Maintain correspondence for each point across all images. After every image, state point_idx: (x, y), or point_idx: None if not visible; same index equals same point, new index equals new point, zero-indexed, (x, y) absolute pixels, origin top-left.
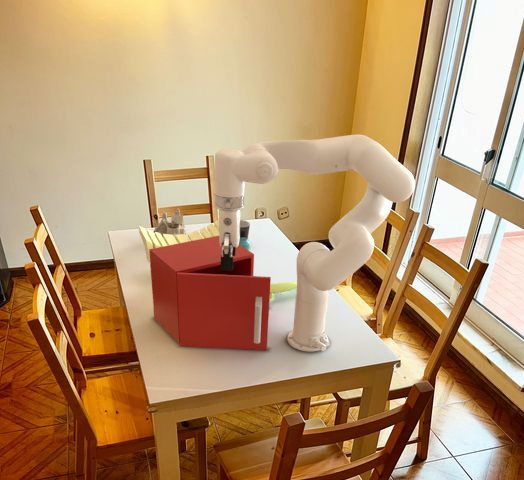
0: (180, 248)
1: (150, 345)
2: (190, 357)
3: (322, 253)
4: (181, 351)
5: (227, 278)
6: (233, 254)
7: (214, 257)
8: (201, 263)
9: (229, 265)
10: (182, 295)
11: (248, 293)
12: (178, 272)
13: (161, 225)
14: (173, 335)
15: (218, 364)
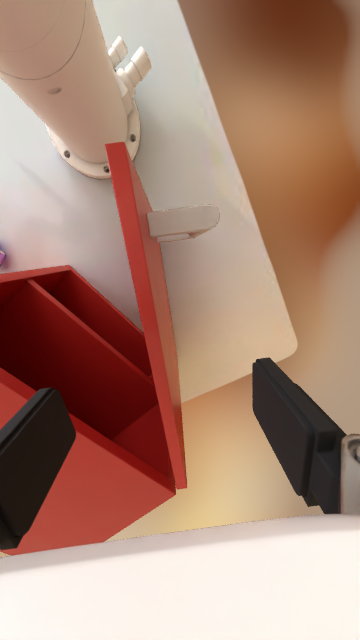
0: None
1: (183, 391)
2: (201, 336)
3: None
4: (189, 351)
5: (163, 352)
6: (54, 400)
7: None
8: (89, 456)
9: (306, 394)
10: (181, 419)
11: (153, 263)
12: (170, 485)
13: None
14: None
15: (213, 293)
